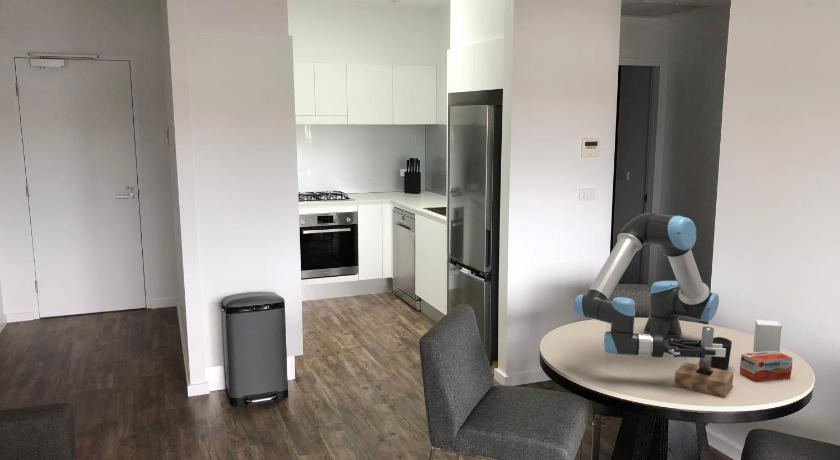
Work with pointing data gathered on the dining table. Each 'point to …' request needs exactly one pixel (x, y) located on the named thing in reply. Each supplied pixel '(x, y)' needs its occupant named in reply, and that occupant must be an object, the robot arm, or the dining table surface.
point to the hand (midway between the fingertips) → (723, 350)
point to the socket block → (704, 380)
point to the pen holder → (721, 361)
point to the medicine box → (765, 366)
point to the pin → (705, 342)
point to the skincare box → (767, 336)
